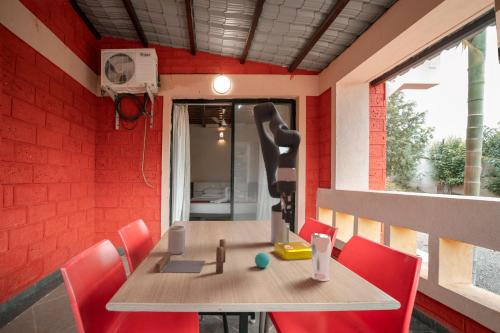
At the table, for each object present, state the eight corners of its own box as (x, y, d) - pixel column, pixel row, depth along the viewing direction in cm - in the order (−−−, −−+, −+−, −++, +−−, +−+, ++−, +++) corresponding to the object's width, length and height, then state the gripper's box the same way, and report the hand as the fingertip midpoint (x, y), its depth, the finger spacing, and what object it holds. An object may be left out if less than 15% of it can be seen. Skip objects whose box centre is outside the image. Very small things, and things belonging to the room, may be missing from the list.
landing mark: (205, 261, 113) (205, 260, 113) (200, 272, 99) (200, 272, 99) (171, 260, 113) (171, 260, 113) (161, 272, 99) (161, 271, 99)
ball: (268, 265, 109) (268, 251, 110) (269, 269, 104) (269, 254, 104) (254, 264, 109) (254, 250, 109) (254, 269, 104) (255, 254, 104)
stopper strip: (170, 260, 113) (170, 253, 113) (159, 272, 99) (160, 264, 99) (166, 260, 113) (166, 253, 113) (155, 272, 99) (155, 264, 99)
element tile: (316, 259, 120) (316, 248, 120) (284, 261, 116) (284, 250, 116) (301, 250, 135) (301, 240, 135) (272, 252, 131) (273, 241, 131)
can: (187, 251, 127) (188, 225, 127) (178, 255, 120) (179, 228, 120) (174, 250, 129) (174, 224, 130) (164, 254, 122) (165, 227, 123)
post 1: (225, 260, 114) (226, 239, 114) (225, 262, 111) (225, 240, 112) (219, 260, 114) (219, 239, 114) (218, 262, 111) (219, 240, 111)
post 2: (223, 271, 101) (223, 246, 102) (222, 273, 99) (223, 248, 99) (216, 271, 101) (216, 246, 101) (215, 273, 98) (216, 248, 99)
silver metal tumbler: (319, 283, 91) (320, 238, 92) (306, 276, 97) (306, 234, 98) (335, 280, 94) (335, 236, 95) (321, 273, 101) (321, 232, 101)
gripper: (275, 179, 115) (274, 218, 114) (279, 179, 101) (278, 224, 100) (293, 179, 115) (292, 218, 115) (299, 180, 101) (299, 224, 100)
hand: (286, 221), depth 107 cm, fingers open, 7 cm apart
